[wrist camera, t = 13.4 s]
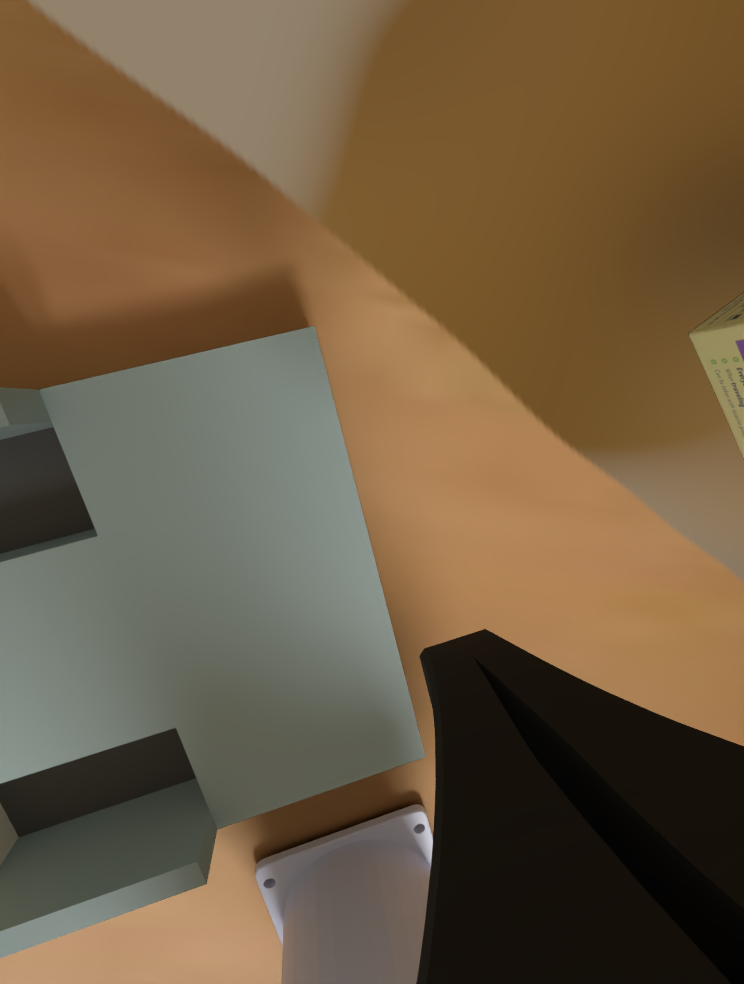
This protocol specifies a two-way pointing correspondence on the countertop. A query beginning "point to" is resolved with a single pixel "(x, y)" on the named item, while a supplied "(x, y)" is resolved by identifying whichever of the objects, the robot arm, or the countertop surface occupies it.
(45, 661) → the trap tray
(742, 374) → the box
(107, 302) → the countertop surface
